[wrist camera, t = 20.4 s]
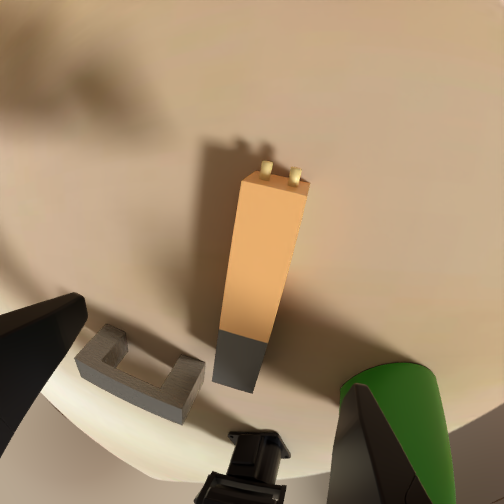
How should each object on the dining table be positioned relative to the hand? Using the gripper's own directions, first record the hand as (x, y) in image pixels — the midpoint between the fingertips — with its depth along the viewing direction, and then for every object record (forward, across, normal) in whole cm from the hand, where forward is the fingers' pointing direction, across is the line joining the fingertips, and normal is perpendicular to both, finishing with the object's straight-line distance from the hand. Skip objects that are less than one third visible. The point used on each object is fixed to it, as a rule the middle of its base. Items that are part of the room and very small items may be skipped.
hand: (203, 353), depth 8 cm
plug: (+12, 0, +5) cm, 13 cm away
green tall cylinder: (+12, -15, +13) cm, 23 cm away
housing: (+12, +9, +16) cm, 22 cm away
